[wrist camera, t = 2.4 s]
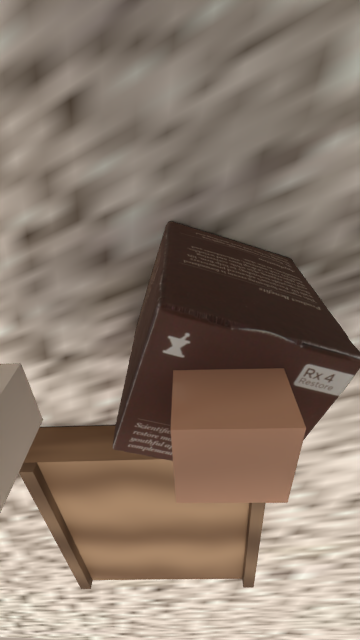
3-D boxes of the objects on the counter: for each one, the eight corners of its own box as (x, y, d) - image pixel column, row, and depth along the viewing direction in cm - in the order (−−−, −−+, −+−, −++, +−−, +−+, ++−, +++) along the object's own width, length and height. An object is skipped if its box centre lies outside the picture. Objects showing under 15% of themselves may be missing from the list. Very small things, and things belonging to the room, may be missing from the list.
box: (133, 327, 17) (105, 451, 11) (167, 215, 14) (153, 300, 8) (242, 357, 18) (272, 486, 12) (296, 258, 15) (373, 363, 9)
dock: (39, 427, 21) (18, 472, 19) (259, 421, 21) (270, 466, 18) (90, 546, 30) (81, 588, 27) (247, 544, 29) (253, 587, 27)
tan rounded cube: (173, 370, 9) (170, 429, 7) (283, 368, 9) (306, 428, 7) (177, 441, 11) (175, 503, 9) (271, 439, 11) (287, 502, 9)
